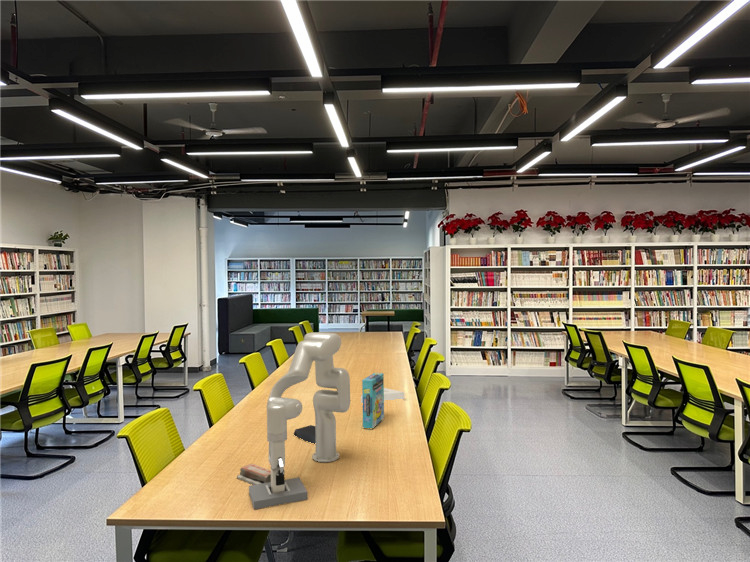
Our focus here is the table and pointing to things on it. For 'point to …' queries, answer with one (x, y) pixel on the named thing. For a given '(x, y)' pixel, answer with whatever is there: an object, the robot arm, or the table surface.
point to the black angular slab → (306, 433)
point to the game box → (373, 399)
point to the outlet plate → (277, 494)
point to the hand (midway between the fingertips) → (277, 479)
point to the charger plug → (273, 482)
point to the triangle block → (391, 395)
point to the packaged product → (254, 474)
